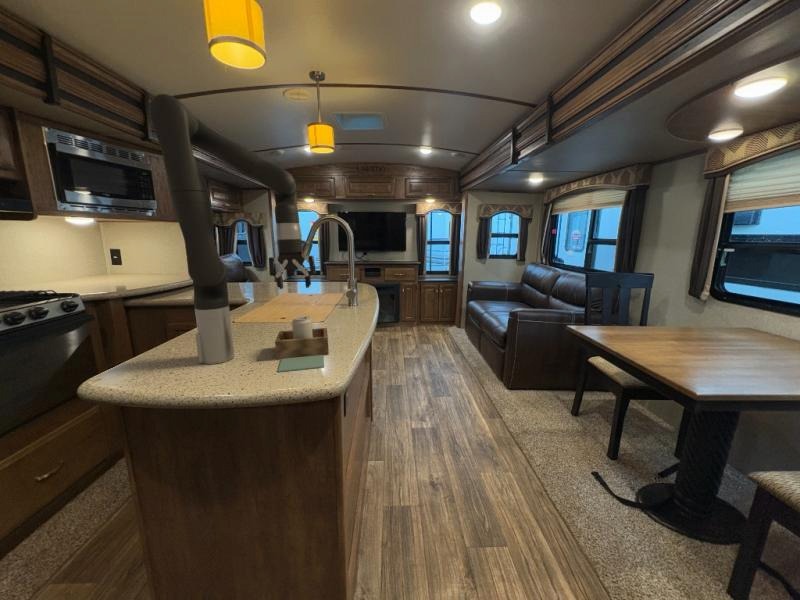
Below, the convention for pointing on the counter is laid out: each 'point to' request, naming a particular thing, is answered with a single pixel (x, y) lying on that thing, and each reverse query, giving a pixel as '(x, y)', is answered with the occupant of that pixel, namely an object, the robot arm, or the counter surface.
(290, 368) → the rubber mat
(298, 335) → the beverage can
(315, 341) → the walnut holder
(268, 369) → the counter surface
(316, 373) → the counter surface
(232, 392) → the counter surface
